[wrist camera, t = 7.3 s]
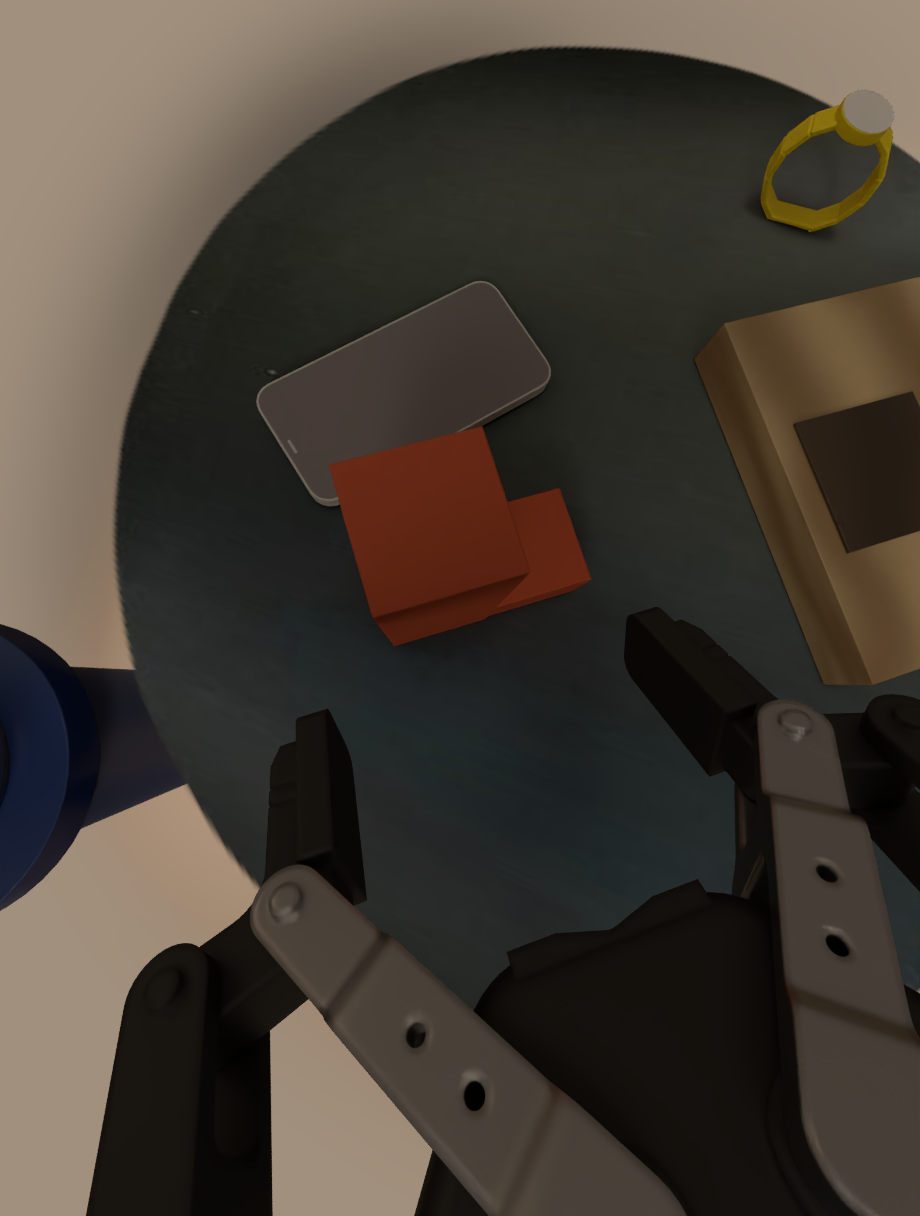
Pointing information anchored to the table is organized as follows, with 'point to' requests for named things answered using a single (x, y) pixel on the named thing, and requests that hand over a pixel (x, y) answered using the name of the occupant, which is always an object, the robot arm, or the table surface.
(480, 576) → the boot
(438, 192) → the table surface
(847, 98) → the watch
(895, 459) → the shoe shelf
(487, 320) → the smartphone
